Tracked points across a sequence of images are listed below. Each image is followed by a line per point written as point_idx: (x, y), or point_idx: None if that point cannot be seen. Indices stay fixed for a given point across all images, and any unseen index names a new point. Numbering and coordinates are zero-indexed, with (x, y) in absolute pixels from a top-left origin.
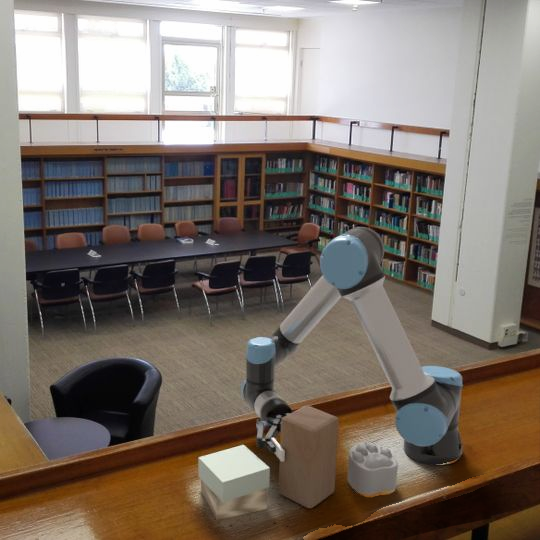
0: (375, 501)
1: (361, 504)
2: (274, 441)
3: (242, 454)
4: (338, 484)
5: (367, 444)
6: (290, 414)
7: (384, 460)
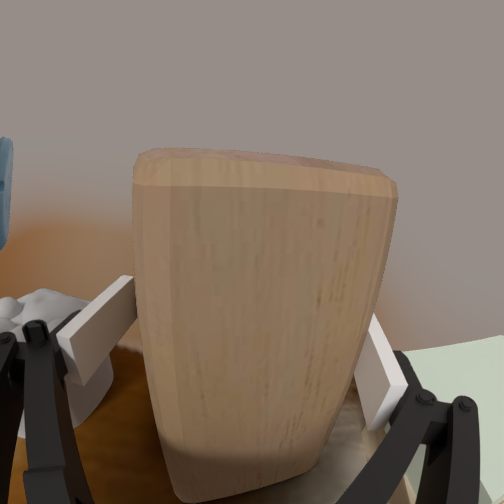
0: (110, 352)
1: (141, 360)
2: (391, 356)
3: (490, 431)
4: (113, 429)
5: None
6: (343, 164)
7: (50, 290)
